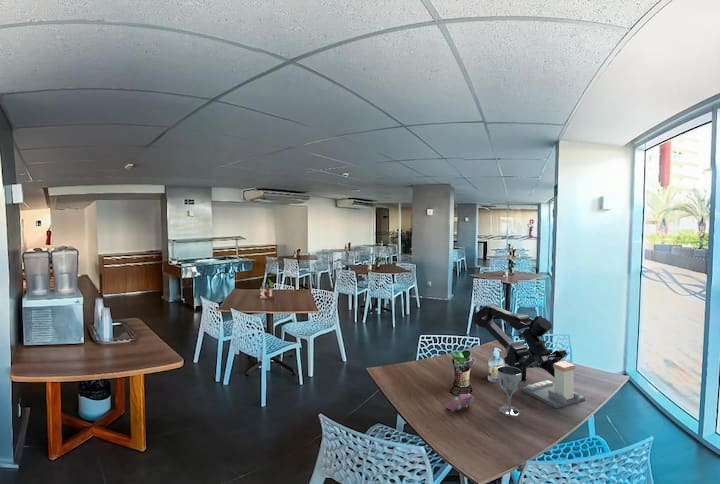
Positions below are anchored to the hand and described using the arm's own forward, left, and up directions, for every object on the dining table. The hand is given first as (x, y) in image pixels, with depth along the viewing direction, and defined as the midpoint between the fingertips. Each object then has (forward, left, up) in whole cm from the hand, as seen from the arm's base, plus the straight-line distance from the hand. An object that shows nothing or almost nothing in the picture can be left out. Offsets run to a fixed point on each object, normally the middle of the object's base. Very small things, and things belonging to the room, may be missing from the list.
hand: (558, 379), depth 137 cm
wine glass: (-21, -12, -7) cm, 25 cm away
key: (+1, -2, -6) cm, 6 cm away
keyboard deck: (-2, +2, -7) cm, 8 cm away
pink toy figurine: (-38, -12, -8) cm, 40 cm away
